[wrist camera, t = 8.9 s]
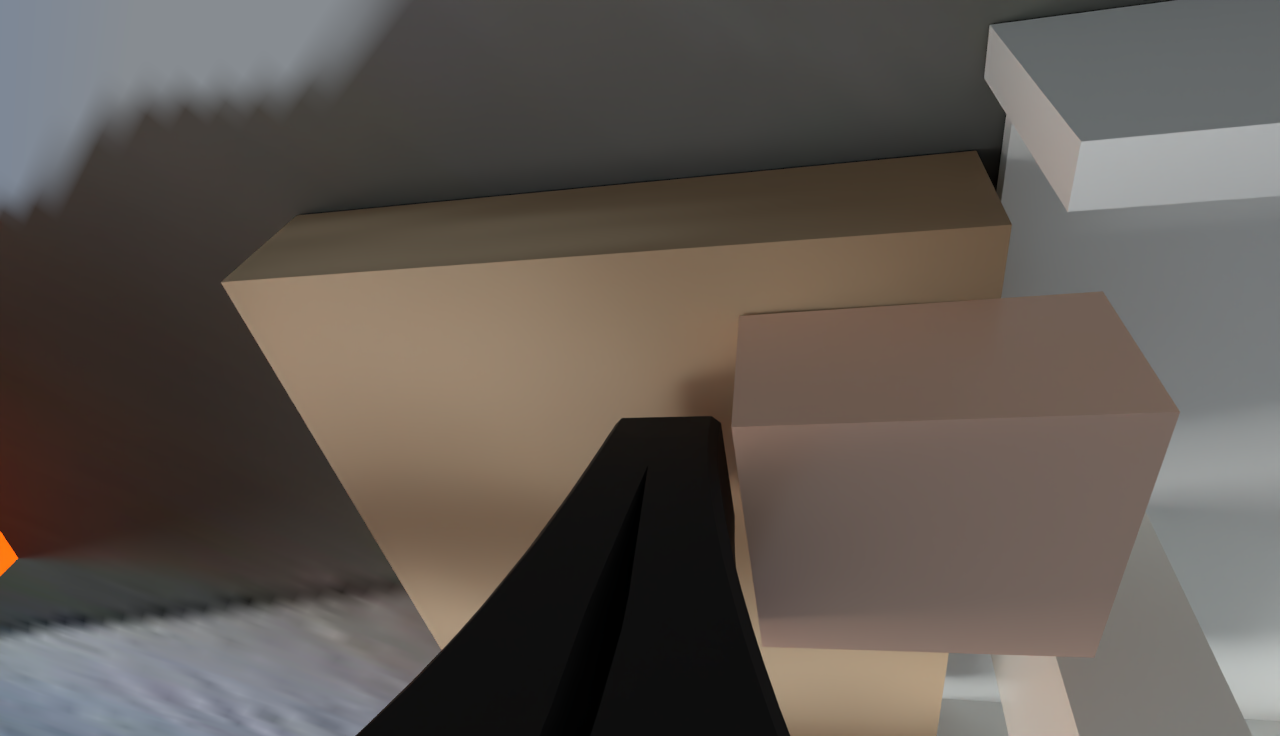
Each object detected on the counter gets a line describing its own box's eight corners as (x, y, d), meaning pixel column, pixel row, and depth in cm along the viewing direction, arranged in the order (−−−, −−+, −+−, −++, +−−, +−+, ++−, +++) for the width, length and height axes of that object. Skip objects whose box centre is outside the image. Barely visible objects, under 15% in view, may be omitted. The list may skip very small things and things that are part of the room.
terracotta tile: (1047, 528, 10) (1093, 657, 9) (763, 529, 11) (762, 647, 10) (1102, 291, 8) (1180, 411, 7) (738, 315, 9) (730, 427, 7)
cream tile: (986, 637, 15) (1095, 641, 14) (1036, 858, 12) (1177, 874, 11) (1011, 505, 13) (1143, 505, 12) (1080, 740, 10) (1260, 753, 9)
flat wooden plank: (920, 663, 16) (933, 755, 15) (507, 640, 19) (481, 717, 17) (975, 150, 9) (1012, 224, 8) (296, 215, 12) (221, 282, 10)
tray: (1307, 724, 16) (1413, 922, 13) (917, 698, 17) (939, 866, 15) (1931, -100, 7) (2718, -15, 4) (989, 25, 8) (1081, 142, 6)
